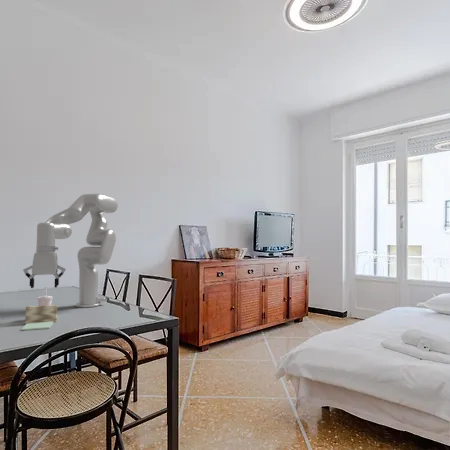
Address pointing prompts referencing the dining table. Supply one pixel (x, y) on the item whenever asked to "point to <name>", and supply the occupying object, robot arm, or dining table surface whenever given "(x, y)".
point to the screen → (41, 314)
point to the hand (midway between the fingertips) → (44, 287)
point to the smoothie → (45, 299)
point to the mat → (37, 326)
